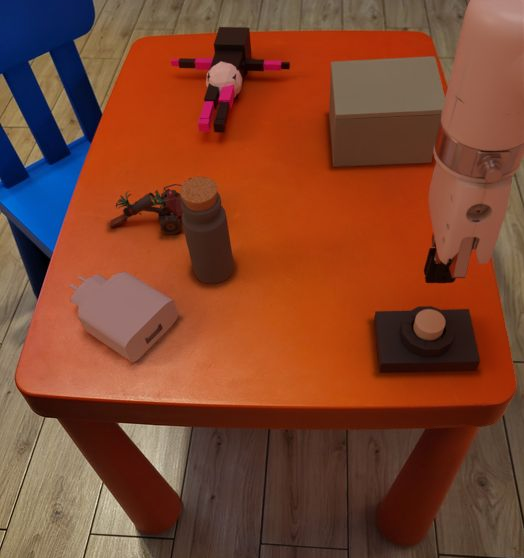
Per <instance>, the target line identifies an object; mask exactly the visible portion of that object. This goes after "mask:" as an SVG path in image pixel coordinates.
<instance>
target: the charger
mask: <svg viewBox="0 0 524 558" xmlns="http://www.w3.org/2000/svg"><path fill="white" fill-rule="evenodd" d="M77 279H78V280H80V281H81V282H82V283H81V284H80V285H79V286H76V285H75V284H73V283H69V286H68V287H69V288H71V289H73V290H74V292H73V294H72V295H71V298H70V301H69V302H70V303H72V304H73V305H75V306H77V307H78V310H77V318H78V320H79V322H80V325H81V326H82V328H83V330H84V331H85V332H86V333H88V334H89V335H91V336H92V337H94V338H95V339H96V340H98V341H100V342H101V343H103V345H106V346H107V347H108V348H110V349H111V350H112V351H114V352H116V353H117V354H119V355H120V356H122V357H123V358H124V359H126V360H127V361H129V362H130V363H135V362H138V360H140V359H141V358H142V357H143V356H144V355H145V354H146V353H147V352H148V351H149V350H150V349H151V348H152V347H153V346H154V345H155V344H156V343H157V342H158V340H160V338H162V337H163V336H164V335H165V333H167V331H169V330H170V328H172V327H173V326H174V324H175V323H176V322H177V320H178V317H179V312H178V309H177V307H176V303H175V300H174V299H172V298H170V297H169V296H168V295H166V294H164V293H163V292H161V291H159V290H157V289H156V288H154V287H152V286H151V285H149V284H147V283H146V282H144V281H143V280H141V279H139V278H137V277H136V276H135V275H132V274H131V273H129V272H127V271H121V272H117V273H114V274H112V275H111V276H110V278H106V277H104V276H103V275H102V274H94V275H92V276H89V277H87V278H85V277H84V276H82V275H79V276H77Z"/></svg>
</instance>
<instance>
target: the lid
mask: <svg viewBox="0 0 524 558" xmlns="http://www.w3.org/2000/svg"><path fill="white" fill-rule="evenodd" d="M331 73H332V85H333V97H334V109H335V119H352V118H373V117H394V116H415V115H436V114H442V110H443V106H444V101H445V97H446V94H445V92H444V91H445V90H444V89H443V88H444V86H443V83H442V80H441V75H440V71H439V68H438V63H437V59H436V55H430V56H429V55H427V56H412V57H393V58H391V57H390V58H378V59H377V58H375V59H373V58H372V59H356V60H355V59H354V60H353V59H352V60H337V61H336V60H335V61H330V74H331Z"/></svg>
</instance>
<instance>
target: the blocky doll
mask: <svg viewBox="0 0 524 558" xmlns="http://www.w3.org/2000/svg"><path fill="white" fill-rule="evenodd" d="M251 43H252V42H251V31H250V27H245V26H244V27H241V26H218V30H217V33H216V35H215V39H214V41H213V49H214V55H213V57H196V58H188V57H187V58H185V57H183V58H182V57H179V58H171V59H170V65H171V67H178V68H179V69H195V70H197V71H207V73H206V78H205V79H206V80H205V87H206V91H205V95H204V98H203V100H204V101H203V102H204V103H203V106H202V109H201V111H200V115H199V119H198V122H197V127H198V132H201V133H210V132H211V128H212V127H211V125H213V132H214V133H221V134H222V133H223V134H225V132H226V127H227V123H228V118H229V114H230V111H231V110H232V107H233V103H234V100H238V98H239V96H240V95H239V94H240V93H241V91H242V85H243V80H244V75H248V72H264V71H269V72H270V71H271V72H273V71H274V72H281V71H282V70H290V69H291V63H290V61H282V60H267V59H266V60H265V59H261V58H252V45H251ZM215 110H216V114H215V118H214V120H213V116H214V113H215ZM212 120H213V123H212Z"/></svg>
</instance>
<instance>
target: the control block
mask: <svg viewBox="0 0 524 558" xmlns="http://www.w3.org/2000/svg"><path fill="white" fill-rule="evenodd" d="M426 309H432V310H436V311H438V312H440V313H441V314H442V315H443V316H444V318H445V327H444V330H443V333H442V335H441V336H440V337H439V338H438V339H436V340H433V341H426V340H423V339H421V338H419V337H418V336H417V335H416V334H415V332H414V329H413V326H414V322H415V318H416V315H417V314H418V313H419V312H420V311H422V310H426ZM373 328H374V336H375V346H376V355H377V363H378V372H379V373H423V372H425V373H426V372H466V371H467V372H468V371H469V372H470V371H472V372H473V371H475V372H476V371H477V369H478V368H479V365H480V363H481V359H480V354H479V348H478V345H477V340H476V335H475V331H474V326H473V322H472V316H471V312H470V309H469V308H454V309H453V308H452V309H451V308H450V309H440V308H438V307H435V306H431V305H429V306H428V305H427V306H425V305H424V306H416V307H415V308H413V309H411V310H379V311H377V310H376V311H375V312H374V317H373Z"/></svg>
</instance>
